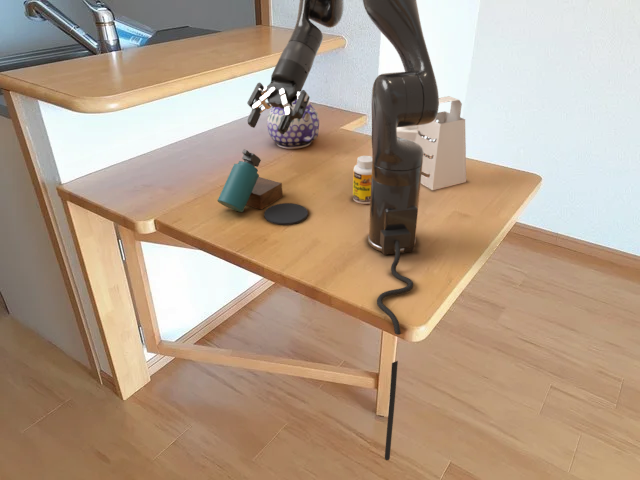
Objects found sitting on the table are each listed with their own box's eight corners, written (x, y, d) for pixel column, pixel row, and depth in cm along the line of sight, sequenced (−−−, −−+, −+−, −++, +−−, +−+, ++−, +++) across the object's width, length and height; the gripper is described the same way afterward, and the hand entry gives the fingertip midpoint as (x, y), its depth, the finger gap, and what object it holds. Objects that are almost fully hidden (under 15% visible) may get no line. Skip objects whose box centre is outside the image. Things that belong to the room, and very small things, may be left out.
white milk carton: (417, 156, 146) (421, 114, 140) (392, 155, 147) (394, 112, 141) (418, 147, 152) (422, 106, 146) (394, 146, 153) (396, 105, 147)
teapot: (338, 150, 150) (338, 98, 143) (291, 161, 144) (289, 107, 136) (296, 127, 169) (294, 80, 162) (252, 135, 162) (249, 86, 155)
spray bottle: (234, 222, 113) (229, 165, 107) (214, 215, 116) (207, 159, 110) (269, 201, 122) (266, 147, 115) (249, 195, 125) (245, 142, 118)
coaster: (311, 222, 113) (311, 220, 113) (267, 227, 111) (266, 225, 111) (303, 203, 121) (303, 201, 121) (262, 207, 120) (262, 205, 119)
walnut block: (261, 209, 118) (260, 195, 117) (234, 201, 122) (232, 187, 121) (282, 196, 124) (281, 183, 122) (256, 189, 128) (255, 175, 126)
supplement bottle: (348, 201, 122) (349, 160, 116) (359, 192, 126) (360, 152, 121) (370, 207, 119) (372, 164, 114) (380, 197, 123) (382, 156, 118)
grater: (406, 175, 135) (413, 97, 125) (439, 167, 139) (448, 91, 129) (432, 190, 127) (441, 108, 117) (466, 181, 131) (477, 101, 121)
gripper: (261, 54, 121) (232, 115, 118) (312, 60, 114) (282, 126, 112) (276, 73, 127) (249, 131, 125) (325, 80, 121) (298, 142, 118)
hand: (265, 129), depth 118 cm, fingers open, 8 cm apart
